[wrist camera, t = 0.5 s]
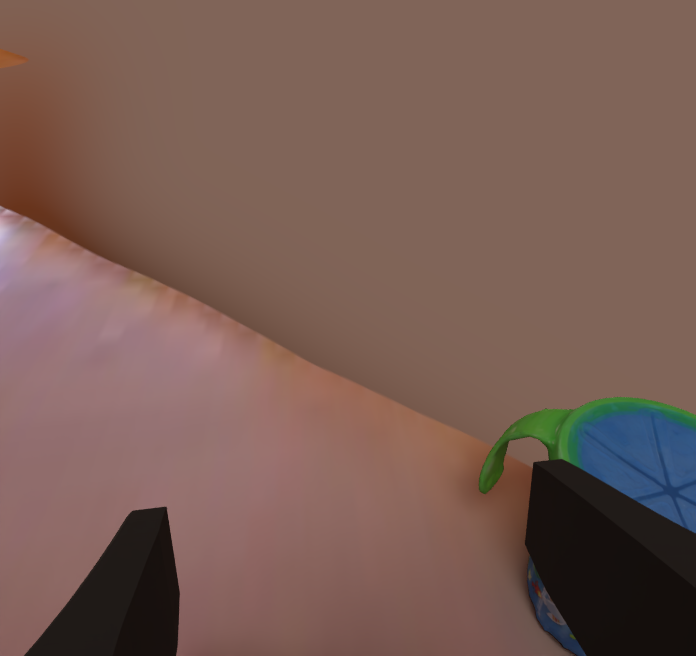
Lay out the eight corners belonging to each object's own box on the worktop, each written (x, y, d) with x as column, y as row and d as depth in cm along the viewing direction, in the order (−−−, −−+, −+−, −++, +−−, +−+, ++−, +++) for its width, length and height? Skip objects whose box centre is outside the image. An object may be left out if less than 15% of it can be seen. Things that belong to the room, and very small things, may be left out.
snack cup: (416, 561, 34) (465, 427, 28) (518, 465, 41) (575, 341, 34) (706, 820, 26) (861, 713, 20) (772, 648, 33) (903, 529, 27)
